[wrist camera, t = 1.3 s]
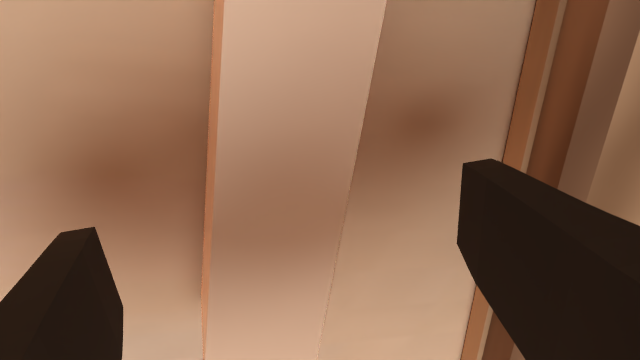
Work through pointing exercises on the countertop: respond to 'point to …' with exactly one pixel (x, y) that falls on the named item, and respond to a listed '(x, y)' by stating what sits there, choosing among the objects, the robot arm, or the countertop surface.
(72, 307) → the robot arm
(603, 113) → the rack
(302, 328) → the beige rectangular block
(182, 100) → the countertop surface
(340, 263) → the countertop surface
